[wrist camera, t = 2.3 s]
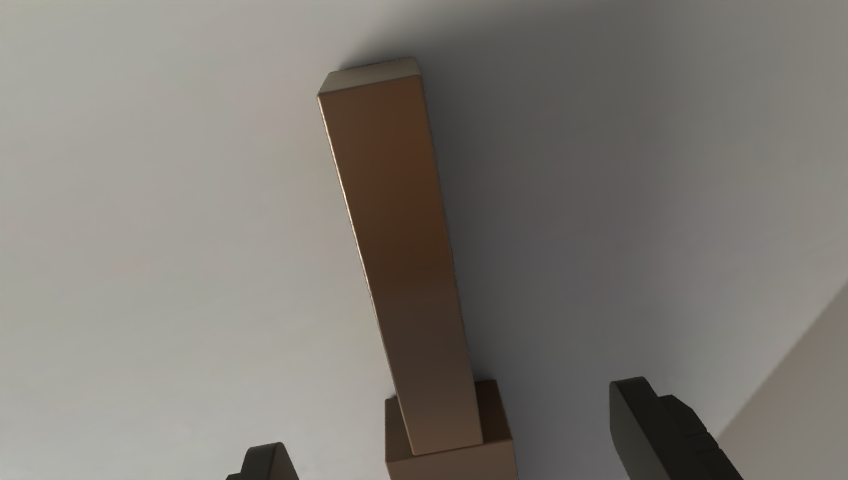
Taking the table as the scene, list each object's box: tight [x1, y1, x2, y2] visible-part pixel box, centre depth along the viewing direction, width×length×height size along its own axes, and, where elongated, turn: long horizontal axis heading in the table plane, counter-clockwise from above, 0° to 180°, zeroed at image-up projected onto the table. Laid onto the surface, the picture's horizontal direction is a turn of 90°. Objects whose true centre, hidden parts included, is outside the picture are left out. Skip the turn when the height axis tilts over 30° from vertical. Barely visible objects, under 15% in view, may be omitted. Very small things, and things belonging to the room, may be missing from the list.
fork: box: [317, 57, 518, 480], centre depth 15 cm, size 18×4×2 cm, turn 10°
